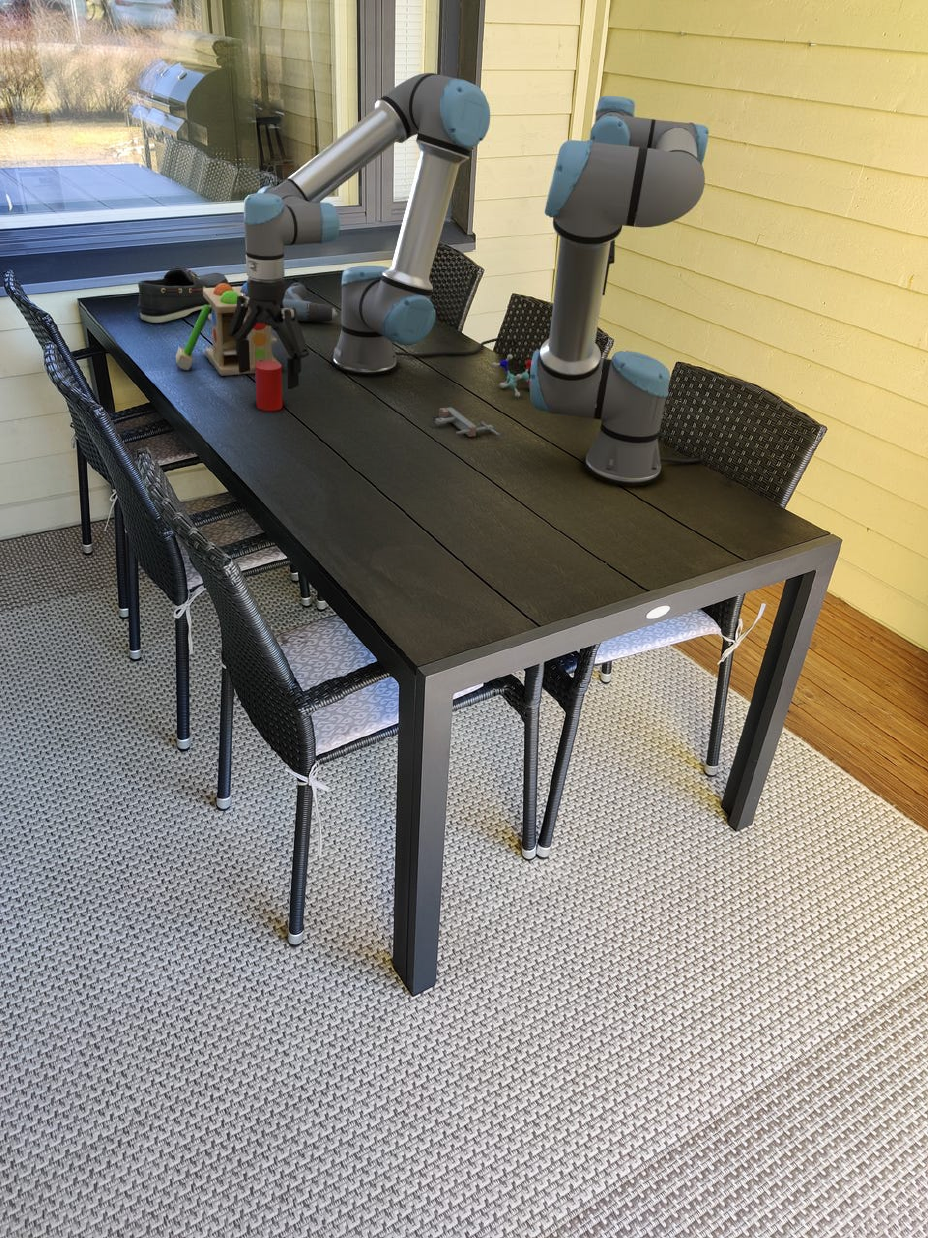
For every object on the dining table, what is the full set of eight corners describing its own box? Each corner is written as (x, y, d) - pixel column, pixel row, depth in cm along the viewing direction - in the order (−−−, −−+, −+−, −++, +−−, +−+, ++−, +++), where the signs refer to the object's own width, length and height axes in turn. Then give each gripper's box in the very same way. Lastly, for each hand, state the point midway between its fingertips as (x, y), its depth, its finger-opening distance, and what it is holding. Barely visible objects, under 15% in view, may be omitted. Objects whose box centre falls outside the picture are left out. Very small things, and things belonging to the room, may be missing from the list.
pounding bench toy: (183, 379, 220) (176, 299, 210) (169, 357, 231) (162, 280, 221) (282, 371, 230) (280, 294, 220) (264, 350, 240) (262, 276, 230)
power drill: (344, 304, 276) (335, 327, 259) (277, 298, 275) (264, 321, 258) (344, 285, 273) (335, 306, 256) (277, 279, 272) (264, 300, 255)
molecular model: (537, 389, 224) (523, 346, 222) (499, 403, 227) (485, 361, 226) (549, 388, 234) (536, 347, 233) (513, 401, 238) (500, 361, 237)
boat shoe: (248, 301, 272) (246, 262, 267) (158, 325, 248) (153, 283, 243) (214, 293, 278) (211, 255, 272) (123, 315, 254) (117, 274, 248)
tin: (277, 400, 216) (276, 359, 211) (285, 409, 212) (285, 368, 207) (253, 402, 214) (251, 361, 208) (260, 412, 210) (259, 370, 204)
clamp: (427, 409, 212) (467, 404, 217) (426, 419, 213) (466, 413, 218) (461, 437, 202) (502, 430, 206) (460, 447, 203) (501, 440, 208)
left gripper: (206, 267, 199) (212, 368, 211) (302, 294, 190) (303, 399, 202) (231, 261, 205) (236, 360, 217) (326, 287, 195) (325, 389, 207)
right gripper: (571, 168, 212) (557, 268, 224) (605, 193, 192) (588, 302, 204) (604, 169, 213) (589, 269, 225) (641, 194, 193) (623, 303, 205)
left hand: (268, 379), depth 209 cm, fingers open, 13 cm apart
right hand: (588, 285), depth 214 cm, fingers open, 13 cm apart
